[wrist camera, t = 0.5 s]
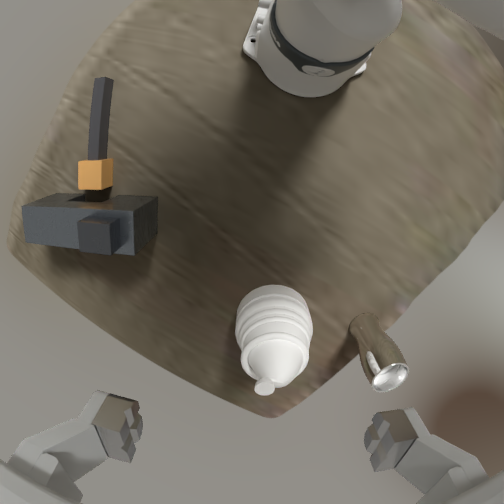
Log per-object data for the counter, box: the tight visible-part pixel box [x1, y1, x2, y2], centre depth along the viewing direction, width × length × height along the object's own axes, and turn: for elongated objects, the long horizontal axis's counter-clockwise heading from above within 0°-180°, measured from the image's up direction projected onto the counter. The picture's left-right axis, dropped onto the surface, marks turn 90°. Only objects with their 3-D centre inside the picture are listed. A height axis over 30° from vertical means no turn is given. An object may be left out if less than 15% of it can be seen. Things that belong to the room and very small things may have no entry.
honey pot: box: [235, 285, 313, 395], centre depth 42 cm, size 13×13×18 cm
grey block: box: [22, 193, 158, 256], centre depth 38 cm, size 6×21×13 cm, turn 84°
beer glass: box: [349, 313, 409, 392], centre depth 44 cm, size 7×7×15 cm
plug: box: [78, 77, 114, 190], centre depth 37 cm, size 18×4×4 cm, turn 174°
